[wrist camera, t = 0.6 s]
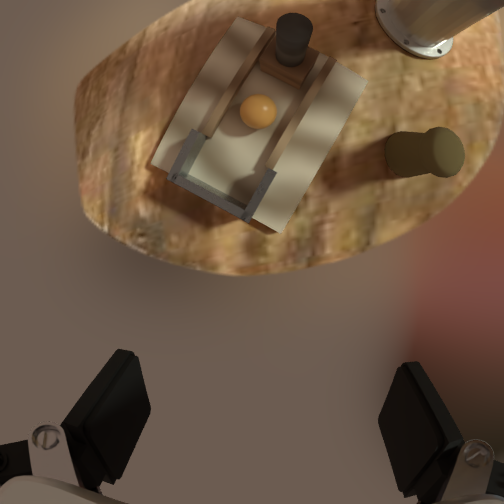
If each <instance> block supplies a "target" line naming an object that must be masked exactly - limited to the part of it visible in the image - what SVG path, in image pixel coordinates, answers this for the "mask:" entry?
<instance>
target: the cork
mask: <svg viewBox="0 0 504 504" xmlns="http://www.w3.org/2000/svg"><path fill="white" fill-rule="evenodd" d="M385 158H386V161H387V164H388V166H389V167H390V169H391V170H392V171H393V172H394V173H396V174H397V175H399V176H401V177H413V176H418V175H422V174H427V173H432V174H434V175H436V176H438V177H445V178H448V177H451V176H454V175H456V174H457V173H458V172H459V171H460V169H461V167H462V166H463V163H464V159H465V152H464V147H463V144H462V142H461V140H460V138H459V137H458V136H457V135H456V134H455V133H454V132H453V131H451V130H449V129H448V128H443V127H436V128H432V129H429V130H428V131H427V132H426V133H417V132H402V131H401V132H397V133H394V134H393V135H392V136H390V138H389V139H388V141H387V142H386V146H385Z"/></svg>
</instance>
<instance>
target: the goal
mask: <svg viewBox="0 0 504 504" xmlns="http://www.w3.org/2000/svg"><path fill="white" fill-rule="evenodd" d="M207 137H208V136H206V135H204V134H202V133H200V132H198V131H196V130H194V129H191V131H190V133H189V135H188V137H187V138H186V140H185V142H184V144H183V146H182V148H181V150H180V152H179V154H178V156H177V158H176V160H175V162H174V164H173V166H172V168H171V170H170V172H169V174H168V176H167V178H166V179H167V180H169V181H171V182H173V183H175V184H177V185H179V186H180V187H182V188H184V189H186V190H188V191H190V192H192V193H194V194H196V195H197V196H199V197H201V198H203V199H205V200H207V201H209V202H210V203H212V204H214V205H216V206H218V207H220V208H222V209H223V210H225V211H227V212H229V213H231V214H233V215H234V216H236V217H238V218H240V219H242V220H244V221H245V222H247V223H249V222H250V220H251V218H252V216H253V215H254V213H255V211H256V209H257V208H258V206H259V204H260V202H261V200H262V199H263V197H264V195H265V193H266V192H267V190H268V188H269V186H270V185H271V183H272V181H273V179H274V177H275V176H276V174H277V172H275V171H274V170H272V169H270V168H268V170H267V171H266V173H265V175H264V177H263V179H262V180H261V182H260V184H259V186H258V187H257V189H256V191H255V193H254V195H253V196H252V198H251V200H250V202H249V204H248V205H246V204H244V203H242V202H240V201H238V200H236V199H235V198H233V197H231V196H229V195H227V194H225V193H223V192H222V191H220V190H218V189H216V188H214V187H212V186H210V185H208V184H207V183H205V182H203V181H201V180H199V179H197V178H195V177H193V176H191V175H189V174H188V173H189V171H190V169H191V168H192V166H193V164H194V162H195V160H196V158H197V156H198V154H199V152H200V150H201V148H202V146H203V145H204V143H205V141H206V139H207Z"/></svg>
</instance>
